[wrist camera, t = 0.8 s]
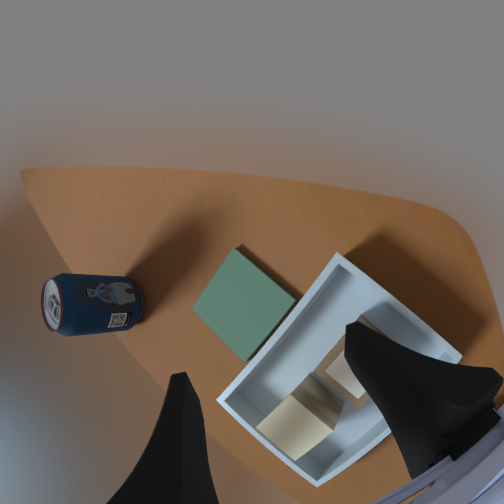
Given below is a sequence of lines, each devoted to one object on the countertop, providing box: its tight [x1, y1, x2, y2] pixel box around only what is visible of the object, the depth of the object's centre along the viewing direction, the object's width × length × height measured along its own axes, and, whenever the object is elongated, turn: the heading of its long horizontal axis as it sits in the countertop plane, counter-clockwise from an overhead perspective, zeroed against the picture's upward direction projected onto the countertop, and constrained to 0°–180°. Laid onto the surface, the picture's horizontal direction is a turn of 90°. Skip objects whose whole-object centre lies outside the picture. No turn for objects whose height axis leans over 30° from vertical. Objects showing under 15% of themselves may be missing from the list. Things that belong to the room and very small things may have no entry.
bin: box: [217, 252, 463, 487], centre depth 22 cm, size 13×17×4 cm
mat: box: [192, 248, 297, 362], centre depth 28 cm, size 8×8×1 cm
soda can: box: [41, 273, 143, 336], centre depth 30 cm, size 7×7×12 cm
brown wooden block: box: [314, 315, 390, 409], centre depth 20 cm, size 4×4×6 cm
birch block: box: [256, 373, 344, 461], centre depth 21 cm, size 4×4×6 cm
